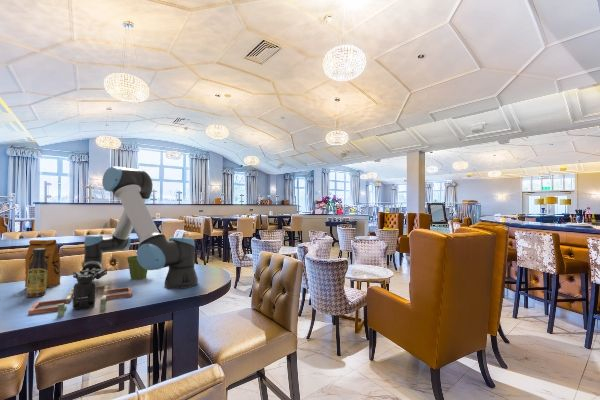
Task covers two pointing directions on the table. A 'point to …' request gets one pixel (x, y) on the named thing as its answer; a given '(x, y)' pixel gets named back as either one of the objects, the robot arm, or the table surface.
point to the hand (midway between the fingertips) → (87, 281)
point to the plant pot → (136, 268)
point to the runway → (60, 303)
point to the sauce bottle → (37, 274)
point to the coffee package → (50, 257)
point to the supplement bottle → (84, 292)
